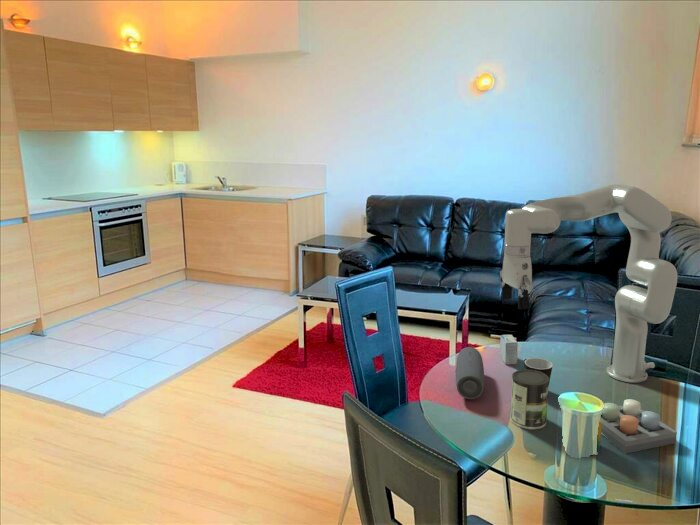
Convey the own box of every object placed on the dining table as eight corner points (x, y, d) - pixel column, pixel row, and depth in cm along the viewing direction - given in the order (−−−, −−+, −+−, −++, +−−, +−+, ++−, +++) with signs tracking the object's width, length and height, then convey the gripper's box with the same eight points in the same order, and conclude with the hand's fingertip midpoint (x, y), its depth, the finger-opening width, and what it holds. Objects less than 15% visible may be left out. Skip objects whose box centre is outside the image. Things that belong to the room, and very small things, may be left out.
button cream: (632, 408, 158) (633, 398, 157) (643, 415, 153) (644, 405, 153) (619, 410, 157) (620, 400, 156) (630, 418, 152) (631, 407, 152)
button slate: (650, 420, 151) (651, 409, 150) (663, 428, 147) (664, 417, 146) (637, 422, 150) (638, 412, 149) (649, 431, 146) (650, 420, 145)
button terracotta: (629, 424, 149) (630, 413, 149) (641, 432, 145) (642, 422, 144) (615, 426, 148) (616, 416, 148) (627, 435, 144) (628, 424, 143)
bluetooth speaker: (455, 370, 193) (456, 344, 191) (482, 372, 191) (483, 346, 189) (454, 401, 172) (455, 373, 169) (484, 404, 170) (485, 375, 167)
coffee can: (550, 416, 161) (553, 373, 158) (542, 433, 153) (544, 388, 149) (515, 408, 167) (517, 366, 163) (505, 423, 158) (507, 380, 155)
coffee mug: (552, 398, 171) (554, 370, 169) (524, 397, 173) (526, 368, 171) (547, 382, 182) (549, 354, 180) (520, 380, 184) (522, 353, 182)
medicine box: (517, 364, 196) (518, 342, 194) (504, 365, 196) (505, 342, 194) (511, 355, 204) (512, 334, 202) (499, 356, 204) (500, 334, 202)
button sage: (611, 411, 156) (612, 401, 155) (622, 419, 152) (623, 409, 151) (598, 414, 155) (599, 404, 154) (609, 421, 151) (610, 411, 150)
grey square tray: (631, 414, 161) (632, 403, 160) (675, 443, 146) (676, 431, 145) (585, 422, 157) (586, 411, 157) (625, 453, 142) (626, 441, 142)
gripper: (544, 255, 156) (541, 311, 160) (513, 243, 172) (510, 294, 176) (521, 257, 154) (518, 314, 158) (491, 245, 171) (490, 296, 175)
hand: (514, 303), depth 167 cm, fingers open, 9 cm apart
